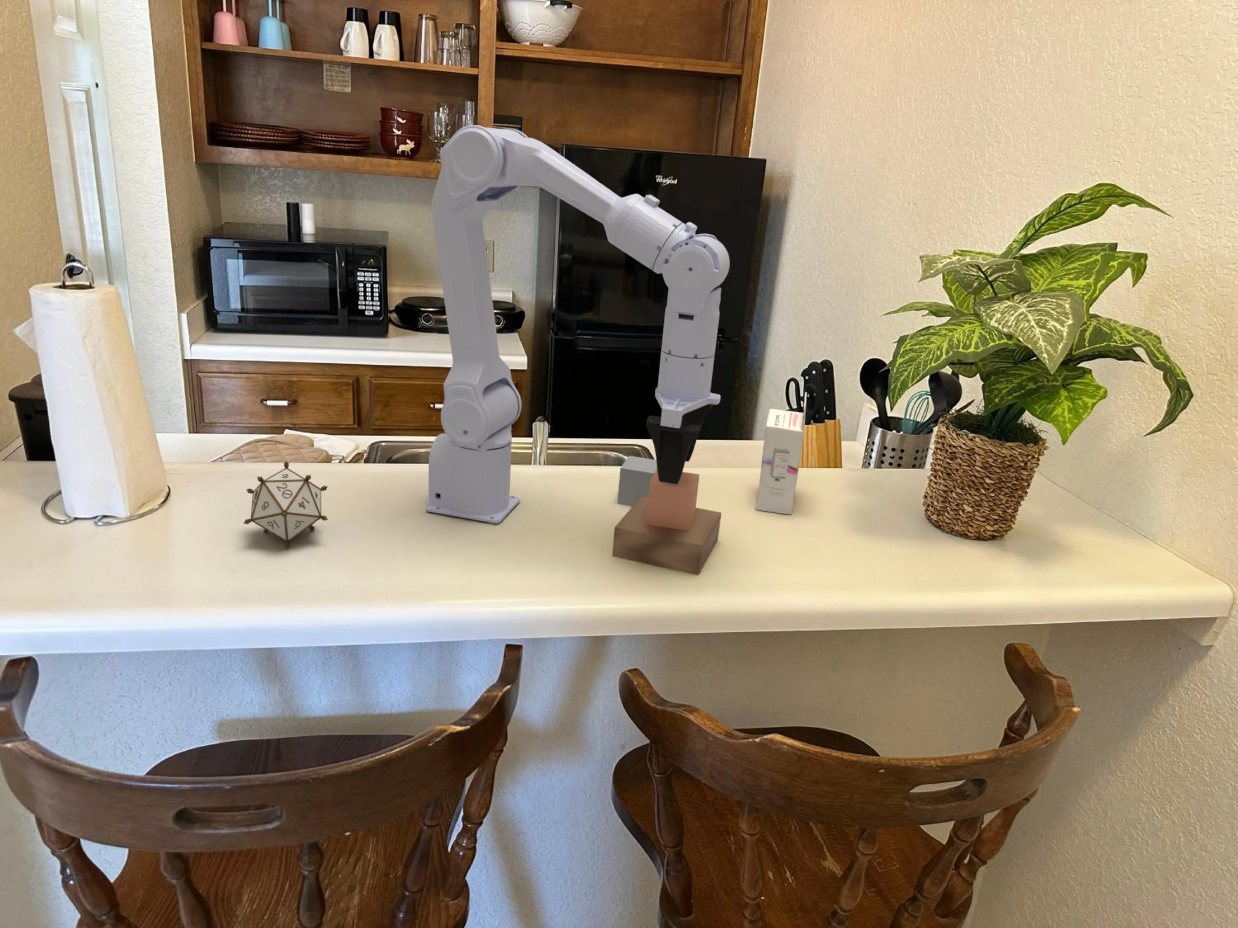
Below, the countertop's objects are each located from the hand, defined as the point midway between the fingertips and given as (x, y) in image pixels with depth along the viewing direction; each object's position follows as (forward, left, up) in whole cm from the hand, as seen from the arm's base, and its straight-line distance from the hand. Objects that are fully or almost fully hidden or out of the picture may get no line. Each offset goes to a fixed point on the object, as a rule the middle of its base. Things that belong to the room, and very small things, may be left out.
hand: (674, 470), depth 98 cm
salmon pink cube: (0, 0, -6) cm, 6 cm away
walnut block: (0, 0, -10) cm, 10 cm away
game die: (-40, -14, -10) cm, 44 cm away
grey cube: (-6, +13, -10) cm, 17 cm away
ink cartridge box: (+11, +20, -10) cm, 25 cm away
